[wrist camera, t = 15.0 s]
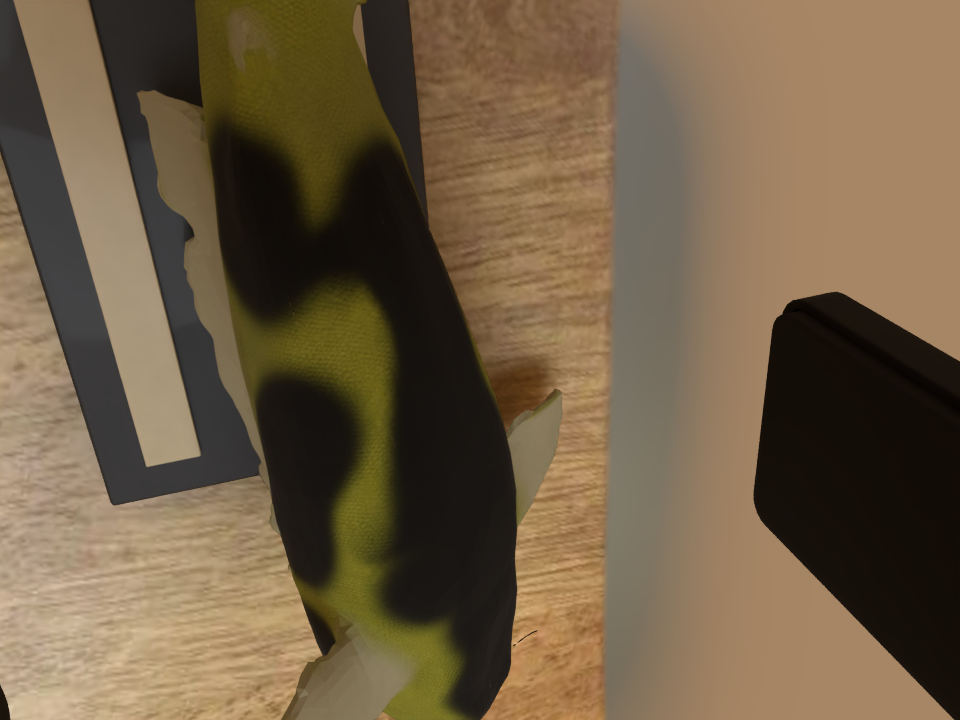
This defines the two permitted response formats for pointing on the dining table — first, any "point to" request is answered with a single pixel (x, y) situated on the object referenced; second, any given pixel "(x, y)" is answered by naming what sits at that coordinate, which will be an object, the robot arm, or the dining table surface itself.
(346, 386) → the fish
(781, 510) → the robot arm
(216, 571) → the dining table surface
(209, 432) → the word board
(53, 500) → the dining table surface
